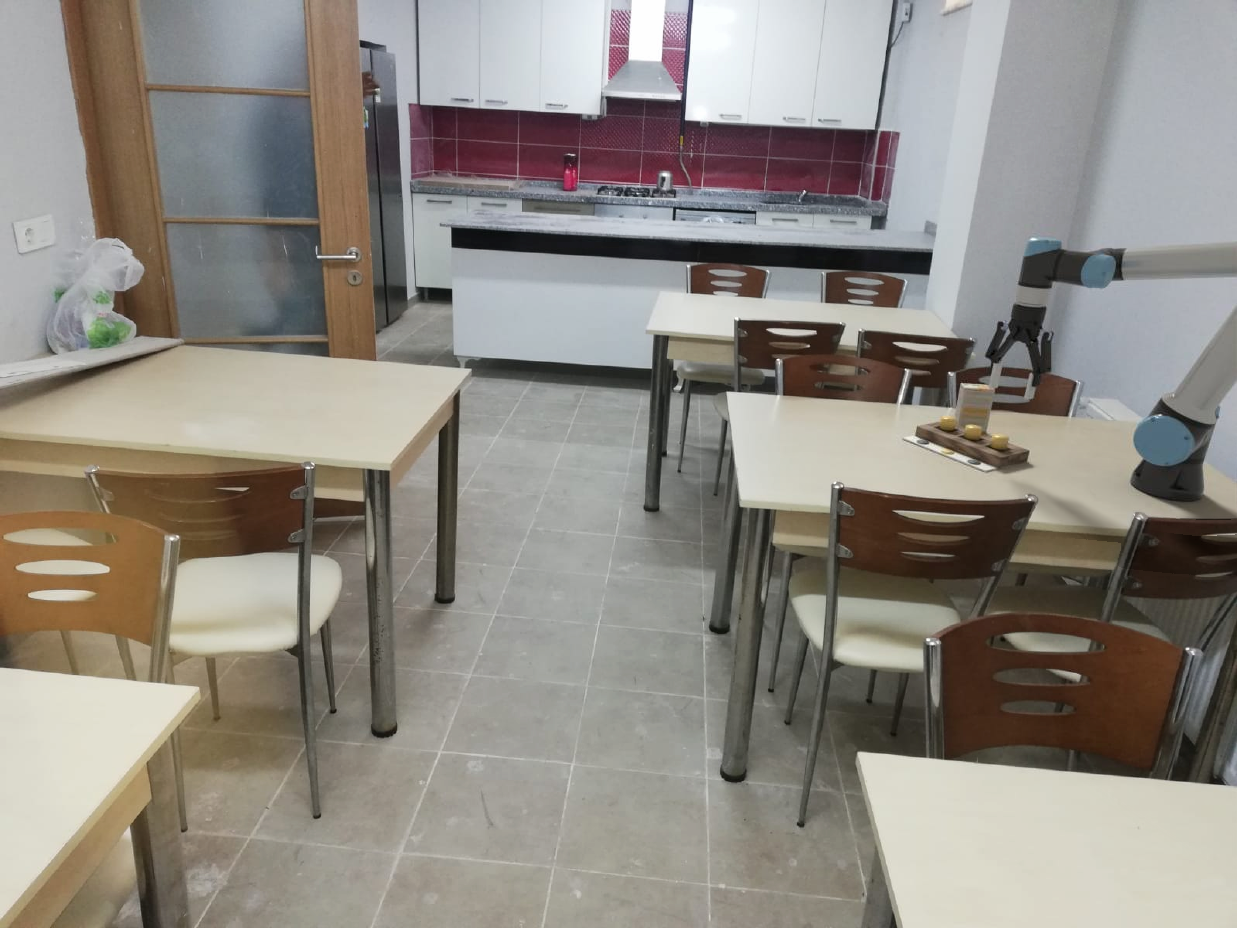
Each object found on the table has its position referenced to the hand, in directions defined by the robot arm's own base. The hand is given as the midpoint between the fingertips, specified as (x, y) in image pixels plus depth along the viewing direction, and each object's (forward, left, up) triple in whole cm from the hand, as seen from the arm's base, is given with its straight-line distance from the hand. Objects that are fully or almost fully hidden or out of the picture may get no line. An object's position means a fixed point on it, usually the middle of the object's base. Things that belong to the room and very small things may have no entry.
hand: (1010, 393), depth 218 cm
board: (+8, 0, -18) cm, 19 cm away
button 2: (0, 0, -14) cm, 14 cm away
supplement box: (+18, -13, -18) cm, 28 cm away
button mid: (+8, 0, -14) cm, 16 cm away
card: (+8, +9, -18) cm, 21 cm away
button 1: (+16, 0, -14) cm, 21 cm away
